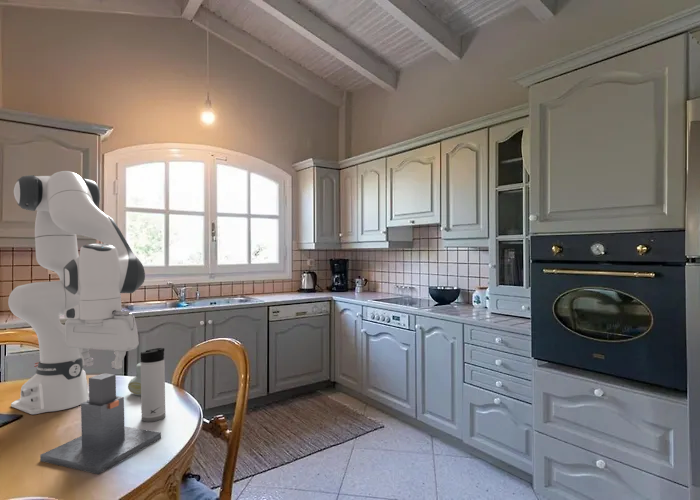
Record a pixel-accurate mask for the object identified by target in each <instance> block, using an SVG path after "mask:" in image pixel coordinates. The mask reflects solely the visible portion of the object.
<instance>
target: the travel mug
mask: <svg viewBox="0 0 700 500" xmlns="http://www.w3.org/2000/svg"><path fill="white" fill-rule="evenodd" d="M139 355H140V362H139V363H141V364H140V365H141V396H140V406H141V408H140V410H141V412H140V413H141V421H143V422H145V423H146V422H147V423H153V422H156V421H160V420H162V419H164V418H165V417H166V381H165V380H166V376H165V375H166V374H165V372H166V369H165V348H164V347H158V348H152V349H147V350H145V351H143V352H140V354H139Z"/></svg>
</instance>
